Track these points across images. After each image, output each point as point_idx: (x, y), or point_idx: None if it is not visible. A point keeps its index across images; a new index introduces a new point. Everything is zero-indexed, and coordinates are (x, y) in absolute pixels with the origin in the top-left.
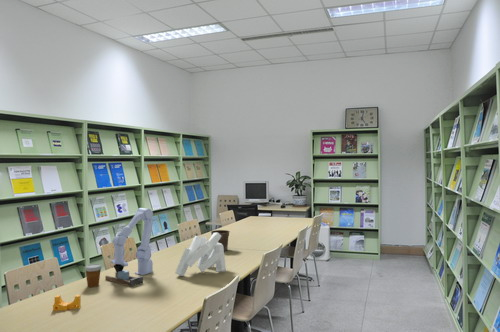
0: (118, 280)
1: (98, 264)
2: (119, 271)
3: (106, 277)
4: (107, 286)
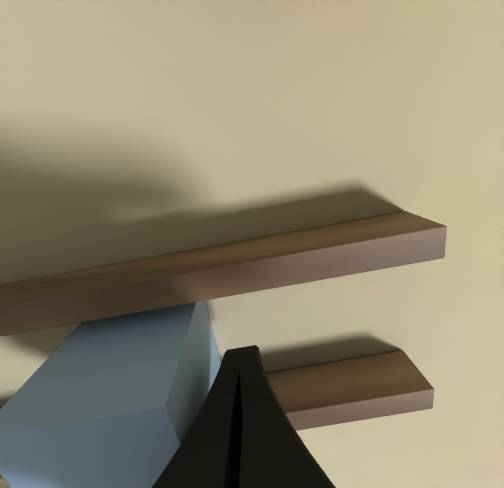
0: (95, 281)
1: None
2: (170, 443)
3: (402, 224)
4: (41, 57)
